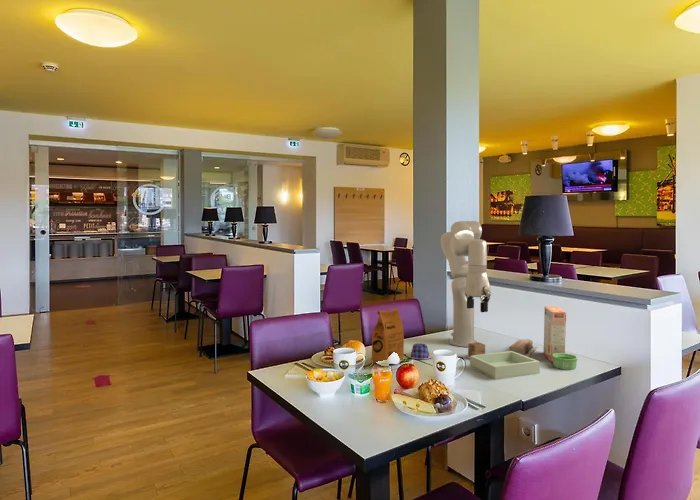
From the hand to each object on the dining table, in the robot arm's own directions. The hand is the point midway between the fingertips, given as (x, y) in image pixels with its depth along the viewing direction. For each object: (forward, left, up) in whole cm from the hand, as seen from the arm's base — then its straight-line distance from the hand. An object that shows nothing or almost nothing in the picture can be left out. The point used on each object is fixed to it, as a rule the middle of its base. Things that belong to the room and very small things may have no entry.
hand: (477, 310), depth 198 cm
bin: (+18, 0, -20) cm, 27 cm away
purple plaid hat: (-11, -21, -21) cm, 32 cm away
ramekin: (+23, +25, -21) cm, 40 cm away
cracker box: (+12, +30, -21) cm, 38 cm away
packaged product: (-1, +24, -21) cm, 32 cm away
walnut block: (0, 0, -21) cm, 21 cm away
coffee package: (-7, -38, -21) cm, 44 cm away
